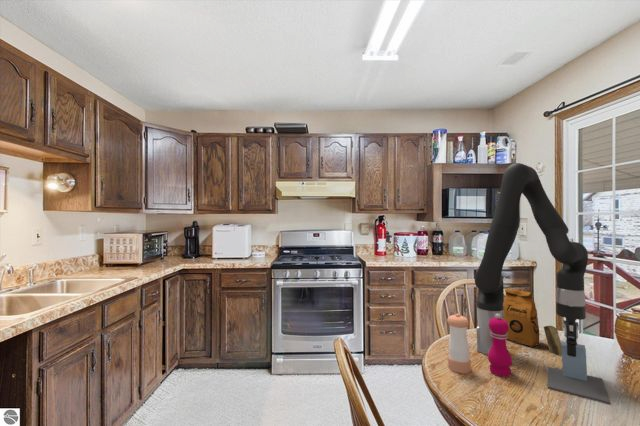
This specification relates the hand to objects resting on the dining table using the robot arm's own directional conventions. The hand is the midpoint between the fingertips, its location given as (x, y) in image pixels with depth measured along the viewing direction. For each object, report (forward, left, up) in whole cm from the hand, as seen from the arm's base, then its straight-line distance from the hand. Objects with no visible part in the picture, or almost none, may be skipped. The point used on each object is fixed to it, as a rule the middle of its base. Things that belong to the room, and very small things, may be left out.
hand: (571, 351), depth 99 cm
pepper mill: (-19, -9, -9) cm, 23 cm away
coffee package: (-15, +27, -9) cm, 32 cm away
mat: (+1, -4, -9) cm, 10 cm away
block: (+1, +1, -8) cm, 8 cm away
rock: (-3, +25, -9) cm, 26 cm away
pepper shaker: (-31, -14, -9) cm, 36 cm away
